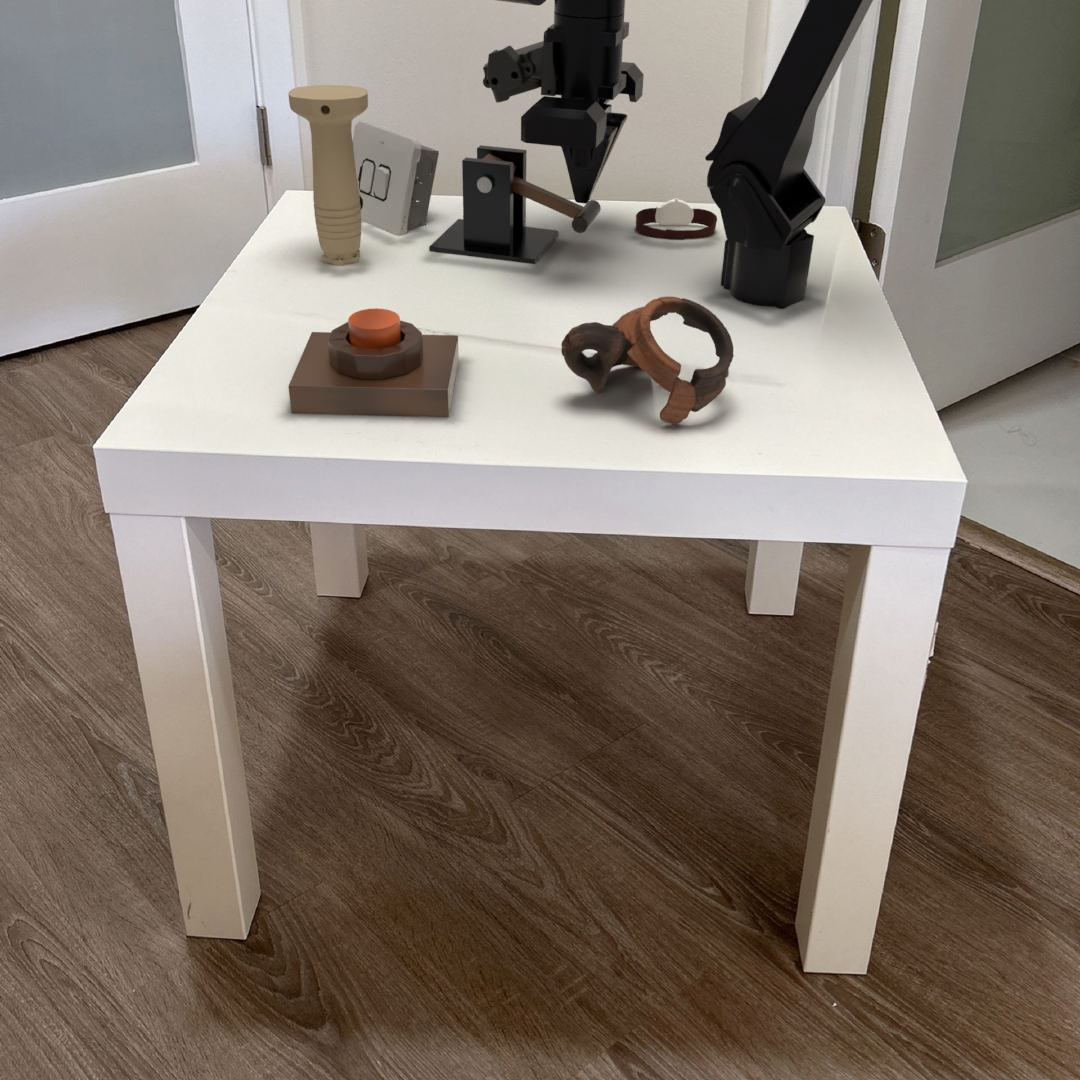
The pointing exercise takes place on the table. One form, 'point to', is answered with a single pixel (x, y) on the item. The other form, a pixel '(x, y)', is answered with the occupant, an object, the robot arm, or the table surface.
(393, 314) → the button
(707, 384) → the brown curved ring piece
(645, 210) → the watch
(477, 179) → the bracket
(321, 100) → the handle
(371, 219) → the electrical switch
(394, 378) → the button block
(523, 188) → the lever
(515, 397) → the table surface
